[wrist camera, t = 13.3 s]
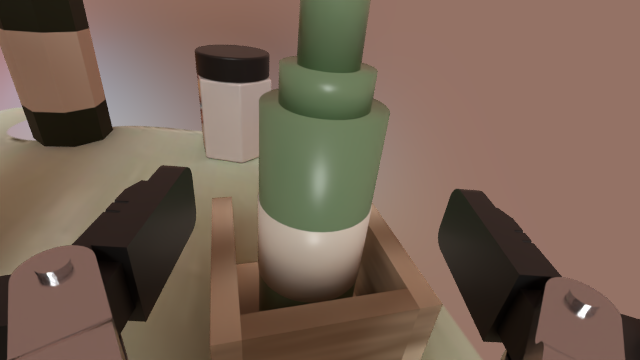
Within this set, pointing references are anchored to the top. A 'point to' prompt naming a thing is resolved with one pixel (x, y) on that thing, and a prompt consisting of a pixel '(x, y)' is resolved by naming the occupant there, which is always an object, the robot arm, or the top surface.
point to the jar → (231, 99)
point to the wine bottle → (54, 70)
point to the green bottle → (318, 160)
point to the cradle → (321, 306)
